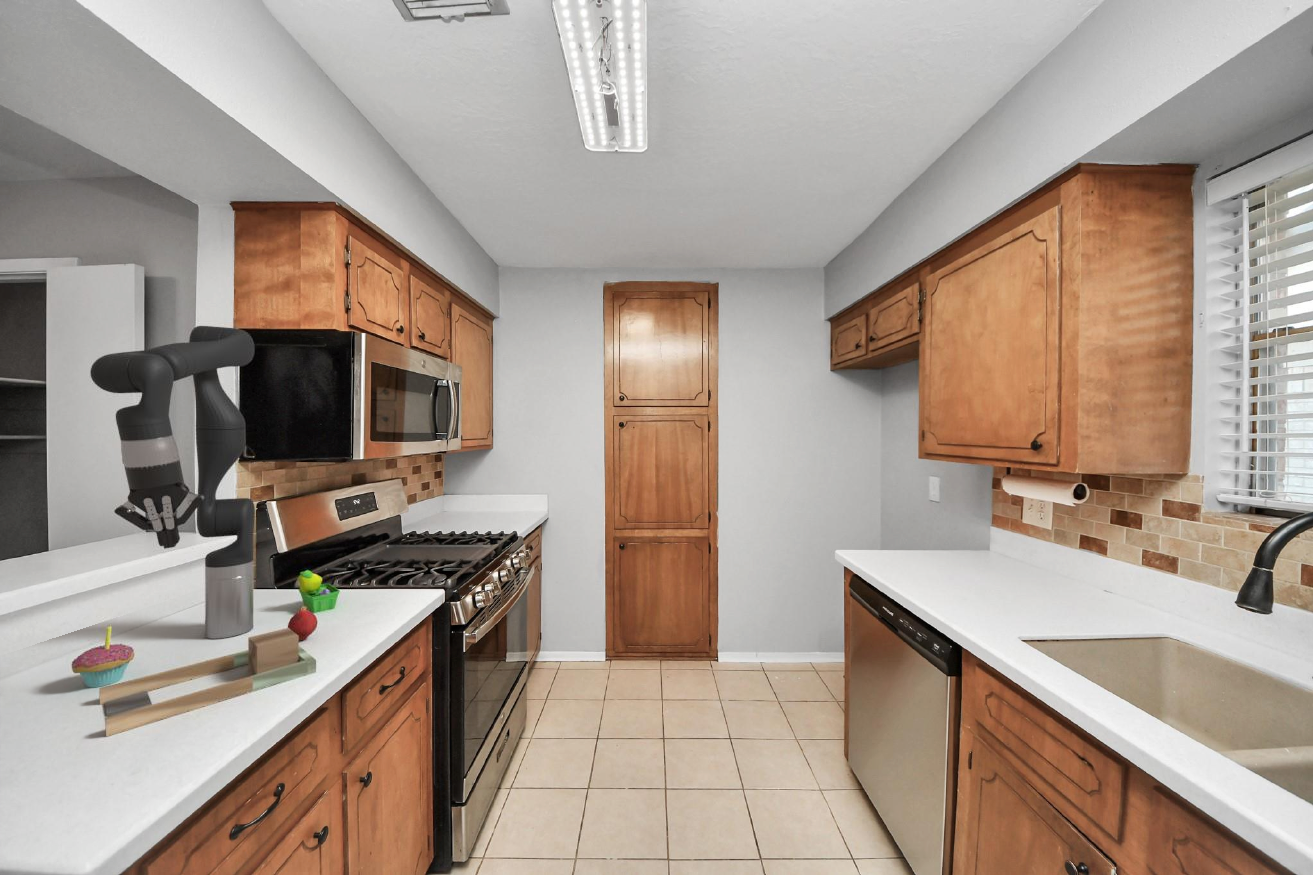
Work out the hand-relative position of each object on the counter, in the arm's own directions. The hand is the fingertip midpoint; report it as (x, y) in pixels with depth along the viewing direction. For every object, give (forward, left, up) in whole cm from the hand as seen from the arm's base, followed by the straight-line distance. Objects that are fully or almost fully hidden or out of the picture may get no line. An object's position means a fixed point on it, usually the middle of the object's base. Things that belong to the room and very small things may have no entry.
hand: (170, 546), depth 99 cm
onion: (-6, +24, -27) cm, 37 cm away
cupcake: (-12, -8, -27) cm, 31 cm away
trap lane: (+7, +5, -27) cm, 28 cm away
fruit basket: (-30, +34, -28) cm, 53 cm away
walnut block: (+7, +15, -27) cm, 32 cm away
